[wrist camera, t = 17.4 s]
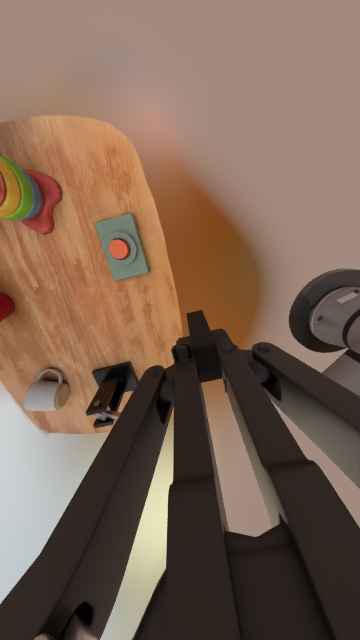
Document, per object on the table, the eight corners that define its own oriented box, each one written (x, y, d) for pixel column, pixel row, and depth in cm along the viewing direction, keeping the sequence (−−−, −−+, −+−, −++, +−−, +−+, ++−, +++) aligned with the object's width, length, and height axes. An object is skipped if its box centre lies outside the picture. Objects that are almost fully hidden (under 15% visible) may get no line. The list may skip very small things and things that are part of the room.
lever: (141, 406, 38) (134, 416, 36) (149, 425, 40) (143, 436, 38) (97, 398, 44) (89, 406, 42) (106, 415, 46) (99, 423, 44)
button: (131, 256, 39) (129, 256, 37) (115, 260, 39) (112, 260, 38) (126, 237, 38) (123, 237, 36) (109, 242, 38) (106, 242, 36)
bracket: (129, 361, 53) (115, 398, 40) (140, 386, 56) (129, 427, 43) (93, 370, 53) (67, 409, 41) (105, 393, 57) (85, 437, 44)
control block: (150, 271, 44) (147, 273, 40) (117, 279, 44) (112, 282, 41) (133, 214, 39) (129, 211, 36) (97, 224, 40) (89, 222, 36)
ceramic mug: (72, 397, 57) (57, 418, 50) (44, 395, 56) (25, 417, 49) (67, 367, 53) (50, 385, 46) (37, 366, 53) (15, 384, 45)
